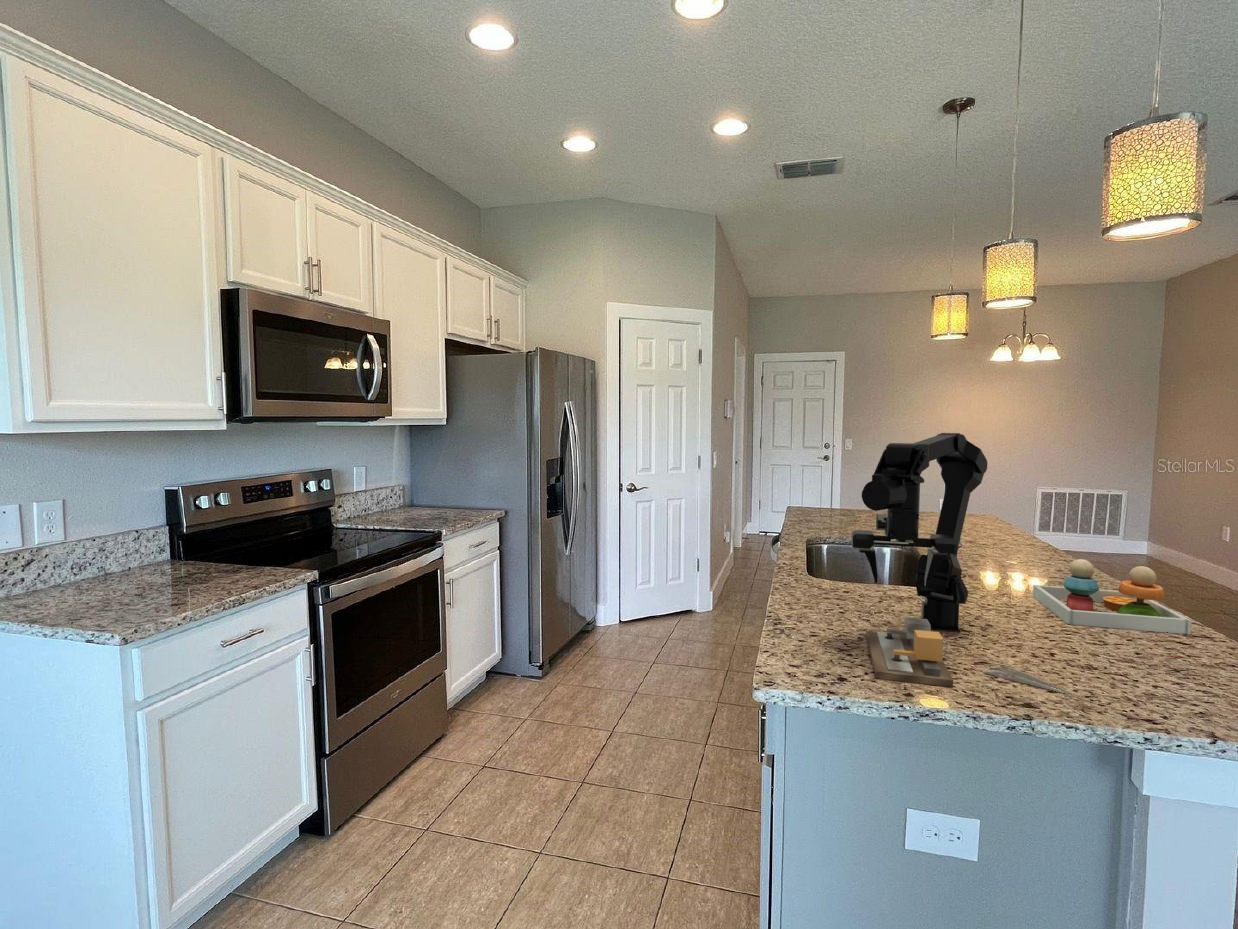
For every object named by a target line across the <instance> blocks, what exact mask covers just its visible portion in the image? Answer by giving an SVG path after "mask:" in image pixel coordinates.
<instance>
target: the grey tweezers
mask: <svg viewBox="0 0 1238 929" xmlns="http://www.w3.org/2000/svg"><path fill="white" fill-rule="evenodd" d="M989 668H990V670H988V669H986V668H984V669H983V670H982V674H985V675H988V676H992V675H993V676H992V677H996V678H1001V679H1004V678H1005V680H1008V681H1009V680H1010V681H1013V682H1017V681H1019V682H1018V683H1021V682H1022V683H1021V684H1024V683H1026V684H1025V685H1028V684H1030V685H1029V686H1033V687H1036V688H1040V687H1041V689H1044V688H1045V689H1044V690H1047V689H1049V690H1048V691H1051V690H1053V691H1052V692H1055V691H1056V692H1055V693H1059V692H1060V693H1059V694H1062V693H1066V694H1068V693H1071V694H1073V696H1074V695H1076V696H1075V697H1074V698H1077V697H1078V696H1079V697H1078V698H1081V697H1082V698H1081V699H1084V698H1085V697H1083V696H1080V695H1078V694H1076V693H1073V692H1070V691H1068V690H1066V689H1064V688H1060V687H1059V686H1057V685H1053V684H1052V683H1049V682H1047V681H1044V680H1043V679H1040V678H1038V677H1036V676H1033V675H1031V674H1028V673H1026V672H1023V671H1022V670H1019V669H1016V668H1012V667H1009V666H1006V665H999V664H997V665H990V666H989ZM1020 677H1021V678H1020ZM1023 678H1024V679H1023ZM1033 681H1035V682H1033ZM1023 682H1024V683H1023ZM1051 687H1053V688H1051ZM1054 688H1056V689H1054ZM1057 689H1059V690H1061V691H1059V690H1057ZM1062 691H1063V692H1062ZM1066 694H1065V695H1066ZM1071 694H1068V695H1067V696H1069V695H1071ZM1085 700H1087V698H1085Z"/></svg>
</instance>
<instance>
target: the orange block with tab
mask: <svg viewBox="0 0 1238 929" xmlns="http://www.w3.org/2000/svg"><path fill="white" fill-rule="evenodd" d="M943 650H944V638H943V637H942V635H941V633H940V631H932V630H931V631H922V630H914V651H905V650H895V649H894V658H895V659H900V655H903V656H913V657H916V658H917V659H919V660H928V661H938V662H942V660H943V656H944V651H943Z"/></svg>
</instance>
